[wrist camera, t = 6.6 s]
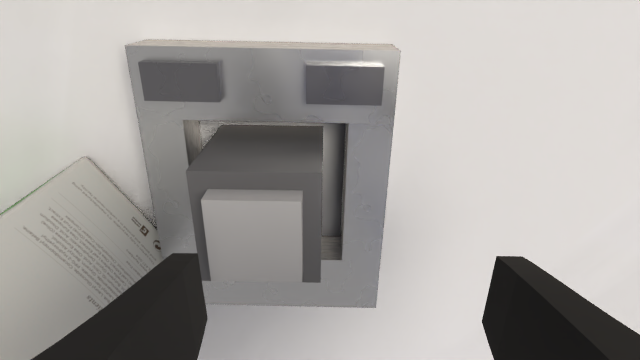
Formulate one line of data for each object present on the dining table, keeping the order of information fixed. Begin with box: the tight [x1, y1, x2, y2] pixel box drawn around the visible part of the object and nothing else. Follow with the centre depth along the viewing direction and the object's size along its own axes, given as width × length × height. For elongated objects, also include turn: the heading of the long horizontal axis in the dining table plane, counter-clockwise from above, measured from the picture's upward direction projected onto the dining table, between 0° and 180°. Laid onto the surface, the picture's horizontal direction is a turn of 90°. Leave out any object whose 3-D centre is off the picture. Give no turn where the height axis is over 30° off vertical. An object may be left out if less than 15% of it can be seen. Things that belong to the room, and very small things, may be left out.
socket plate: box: [125, 40, 401, 308], centre depth 18 cm, size 12×10×2 cm
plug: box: [186, 125, 323, 283], centre depth 16 cm, size 4×4×6 cm
